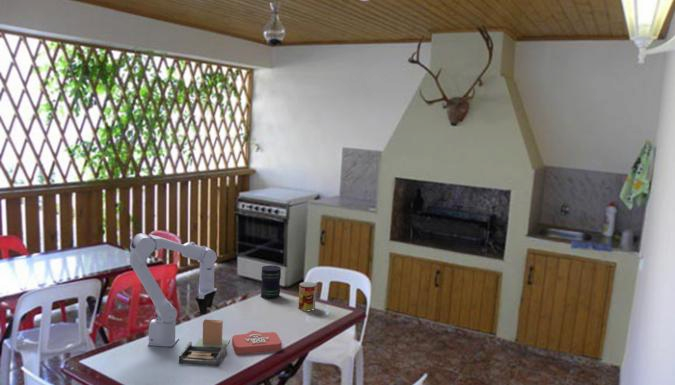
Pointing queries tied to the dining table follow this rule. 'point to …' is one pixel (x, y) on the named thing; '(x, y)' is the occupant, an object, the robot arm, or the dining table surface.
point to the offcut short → (201, 354)
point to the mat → (200, 343)
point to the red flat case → (256, 342)
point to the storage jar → (270, 282)
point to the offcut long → (199, 357)
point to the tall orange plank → (212, 332)
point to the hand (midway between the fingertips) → (205, 310)
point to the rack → (217, 353)
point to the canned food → (307, 296)
